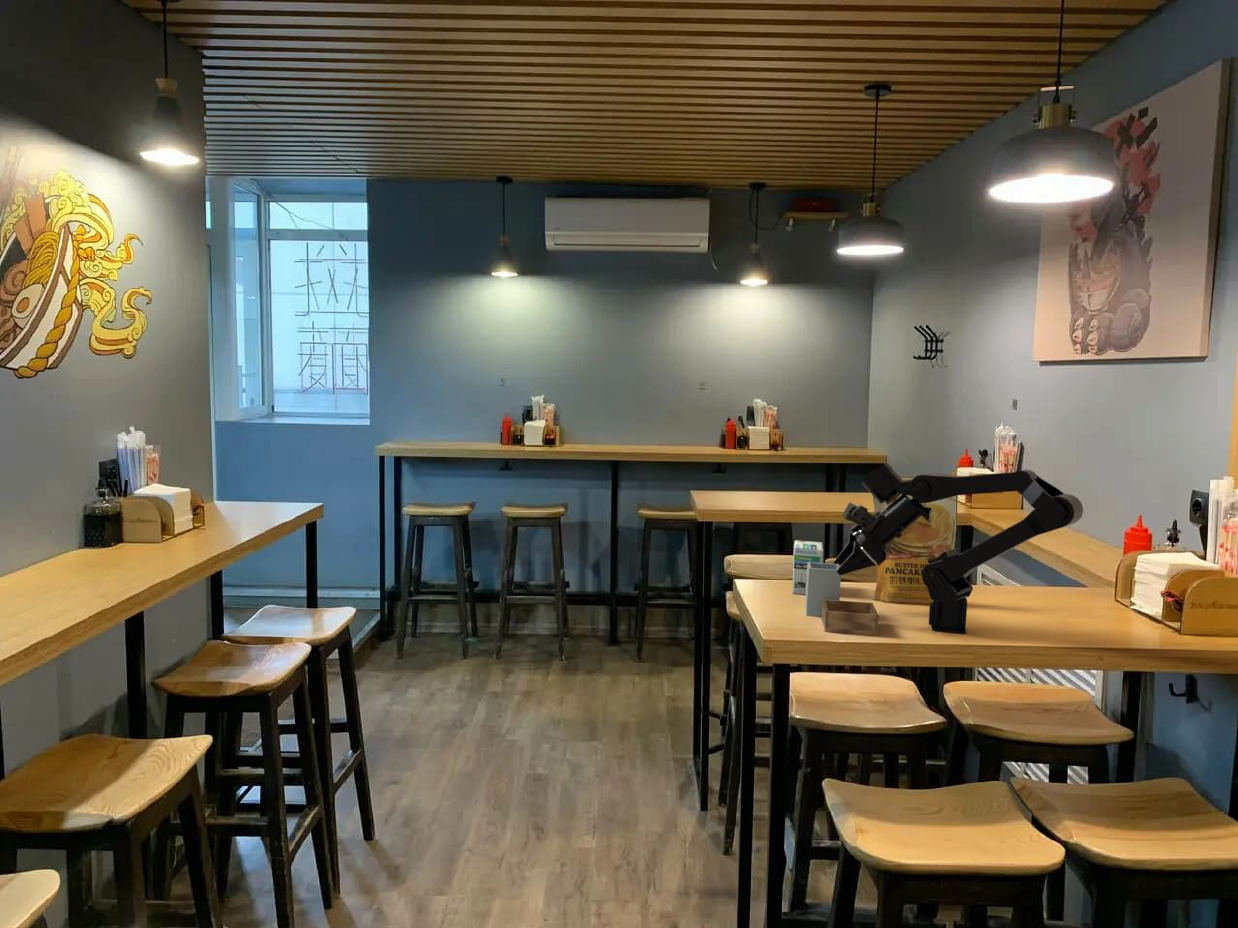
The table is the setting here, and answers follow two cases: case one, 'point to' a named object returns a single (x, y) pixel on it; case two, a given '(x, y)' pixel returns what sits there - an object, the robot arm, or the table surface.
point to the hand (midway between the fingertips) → (836, 568)
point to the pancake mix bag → (915, 552)
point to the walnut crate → (849, 617)
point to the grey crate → (821, 586)
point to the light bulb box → (804, 562)
